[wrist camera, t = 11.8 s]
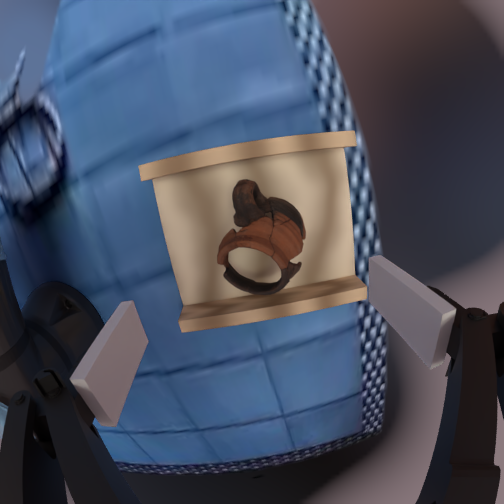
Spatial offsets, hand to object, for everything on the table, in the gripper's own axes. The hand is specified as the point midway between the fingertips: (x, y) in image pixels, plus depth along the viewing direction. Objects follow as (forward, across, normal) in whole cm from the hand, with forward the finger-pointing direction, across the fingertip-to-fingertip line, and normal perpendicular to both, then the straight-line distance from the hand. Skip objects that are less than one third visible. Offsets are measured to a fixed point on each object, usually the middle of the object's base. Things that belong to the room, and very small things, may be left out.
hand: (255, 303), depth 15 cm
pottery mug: (+18, +2, 0) cm, 18 cm away
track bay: (+19, +2, 0) cm, 19 cm away
